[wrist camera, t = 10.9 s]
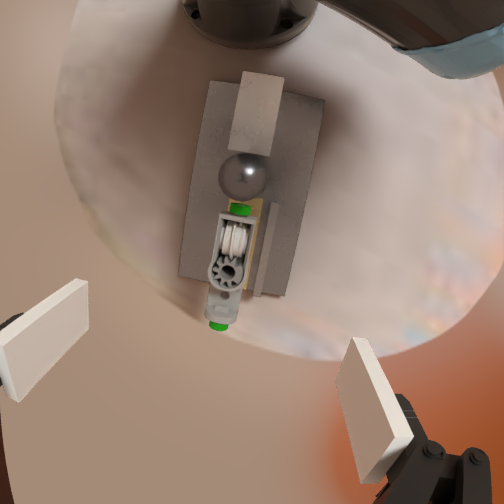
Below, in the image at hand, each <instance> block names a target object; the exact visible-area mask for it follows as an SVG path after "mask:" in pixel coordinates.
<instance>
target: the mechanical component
mask: <svg viewBox="0 0 504 504" xmlns="http://www.w3.org/2000/svg"><path fill="white" fill-rule="evenodd" d="M250 212H251V206H249V205H246V204H242V203H234V202H231V204H230V209H229V212H228V211H222V212H221V213H220V215H219V220H218V226H217V231H216V237H215V243H214V249H213V255H212V261H211V263H210V265H209V268H208V278H209V280H210V281H209V283H210V288H209V294H208V300H207V305H206V309H205V317H206V318H207V319H208V320H210V323H209V326H210V327H211V328H212V329H214V330H217V331H225V330H227V329H228V324H232V323H234V322H235V321H236V318H237V313H238V308H239V303H240V299H241V294H242V289H243V285H244V284H245V282H246V279H247V274H248V268H249V254H250V250H251V245H252V240H253V235H254V230H255V225H256V220H257V217H253V216H249V215H250Z"/></svg>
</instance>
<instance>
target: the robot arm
mask: <svg viewBox="0 0 504 504" xmlns="http://www.w3.org/2000/svg"><path fill="white" fill-rule="evenodd" d="M318 2H319V3H321V4H323V5H325V6H327V7H329V8H331V9H333V10H335V11H337V12H338V13H340V14H342V15H344V16H346V17H347V18H349V19H351V20H353V21H354V22H356V23H358V24H359V25H361V26H363V27H364V28H366V29H367V30H369V31H371V32H372V33H374V34H375V35H377V36H378V37H380V38H381V39H383V40H384V41H386V42H387V43H389V44H390V45H391V46H392V48H393V49H394V50H396V51H397V52H399V53H402V54H405V55H408V56H409V57H411V58H412V59H414V60H415V61H417V62H418V63H419V64H421V65H422V66H424V67H425V68H426V69H428V70H429V71H431V72H432V73H434V74H436V75H438V76H440V77H443V78H447V79H469V78H474V77H478V76H481V75H484V74H486V73H489V72H491V71H493V70H495V69H497V68H499V67H501V66H502V65H504V0H182V4H183V8H184V11H185V13H186V15H187V17H188V19H189V20H190V22H191V24H192V25H193V26H194V28H195V29H196V30H197V31H198V32H199V33H200V34H202V35H203V36H204V37H206V38H207V39H209V40H211V41H213V42H215V43H218V44H221V45H224V46H227V47H232V48H239V49H259V48H266V47H271V46H275V45H278V44H281V43H283V42H286V41H288V40H290V39H292V38H293V37H295V36H297V35H298V34H299V33H301V32H302V31H303V30H304V29H305V28H306V27H307V26H308V25H309V23H310V22H311V20H312V19H313V17H314V15H315V12H316V9H317V5H318ZM88 330H89V309H88V282H87V281H84V280H80V279H77V278H75V279H74V280H72V281H71V282H69V283H68V284H66V285H65V286H64V287H62V288H61V289H59V290H57V291H56V292H55V293H53V294H52V295H50V296H49V297H47V298H46V299H44V300H43V301H41V302H40V303H39V304H37V305H36V306H34V307H33V308H31V309H30V310H29V311H27V312H26V313H20V314H17V315H14V316H12V317H11V318H10V319H8V320H7V321H6V322H4V323H2V324H1V325H0V386H1V385H3V388H4V391H5V394H6V396H8V397H10V398H11V399H13V400H15V401H16V402H18V403H20V401H21V400H22V399H23V398H24V397H25V396H26V395H27V394H28V393H29V391H30V390H31V389H32V388H33V387H34V386H35V385H36V384H37V383H38V382H39V380H40V379H41V378H42V377H43V376H44V375H45V374H46V373H47V372H48V371H49V370H50V369H51V368H52V367H53V365H55V363H56V362H57V361H58V360H59V359H60V358H61V357H62V356H63V355H64V354H65V353H66V352H67V351H68V350H69V349H70V348H71V347H72V346H73V345H74V344H75V343H76V342H77V341H78V340H79V339H80V338H81V337H82V335H84V333H86V332H87V331H88ZM335 384H336V388H337V392H338V395H339V399H340V403H341V407H342V410H343V414H344V418H345V422H346V426H347V430H348V433H349V438H350V442H351V445H352V450H353V454H354V458H355V462H356V466H357V470H358V475H359V478H360V483H361V484H369V483H379V482H380V481H381V479H382V478H383V477H384V476H385V475H387V478H388V483H387V484H386V485H385V486H384V487H383V489H382V490H381V491H380V492H379V493H378V494H377V495H376V497H377V498H376V500H375V501H374V502H373V504H492V490H491V489H492V487H491V472H490V461H489V458H488V456H487V455H486V453H485V452H484V451H482V450H481V449H478V448H474V447H471V448H468V449H467V450H465V452H464V453H463V454H462V455H461V456H457V455H451V454H446V451H445V449H444V448H443V447H442V446H441V445H440V444H438V443H437V442H435V441H431V440H428V438H427V436H426V434H425V432H424V430H423V428H422V426H421V424H420V422H419V420H418V418H417V416H416V414H415V412H413V408H412V406H411V404H410V402H409V401H408V400H407V399H406V398H405V397H404V396H403V395H402V394H394V393H393V390H392V388H391V387H390V385H389V382H388V380H387V378H386V376H385V374H384V372H383V370H382V368H381V366H380V364H379V362H378V360H377V358H376V356H375V354H374V352H373V351H372V349H371V347H370V345H369V343H368V341H367V339H364V338H357V337H352V339H351V341H350V344H349V347H348V349H347V352H346V355H345V357H344V360H343V362H342V365H341V367H340V370H339V372H338V375H337V377H336V380H335ZM1 428H2V427H1V416H0V504H14V500H13V496H12V492H11V487H10V483H9V477H8V472H7V466H6V460H5V453H4V446H3V438H2V429H1Z"/></svg>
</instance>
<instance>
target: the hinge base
mask: <svg viewBox="0 0 504 504" xmlns="http://www.w3.org/2000/svg"><path fill="white" fill-rule="evenodd" d="M284 79H285V78H284V77H278V76H273V75H267V74H261V73H254V72H248V71H243V74H242V79H241V83H240V84H236V83H228V82H220V81H211V80H210V84H209V88H208V93H207V98H206V103H205V108H204V113H203V118H202V123H201V128H200V133H199V139H198V144H197V150H196V155H195V161H194V167H193V173H192V179H191V185H190V191H189V198H188V204H187V211H186V218H185V225H184V233H183V240H182V248H181V256H180V265H179V273H178V276H182V277H186V278H191V279H196V280H201V281H206V282H209V281H210V280H209V278H208V268H209V265H210V263H211V261H212V255H213V249H214V243H215V237H216V231H217V226H218V220H219V215H220V213H221V212H222V211H228V212H229V209H230V204H231V202H234V203H242V204H246V205H249V206H251V212H250V215H249V216H253V217H257V220H256V225H255V230H254V235H253V240H252V245H251V250H250V254H249V268H248V274H247V279H246V282H245V284H244V285H243V289H245V290H246V289H247V290H252V291H253V296H256V297H260V296H261V292H263V293H269V294H274V295H280V296H285V292H286V288H287V284H288V280H289V275H290V271H291V267H292V262H293V258H294V254H295V249H296V245H297V240H298V236H299V231H300V226H301V222H302V217H303V212H304V208H305V203H306V198H307V193H308V188H309V183H310V178H311V173H312V168H313V163H314V158H315V153H316V148H317V142H318V137H319V132H320V126H321V121H322V115H323V109H324V104H325V100H321V99H317V98H313V97H308V96H304V95H299V94H294V93H289V92H284V91H282V89H283V84H284Z"/></svg>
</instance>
